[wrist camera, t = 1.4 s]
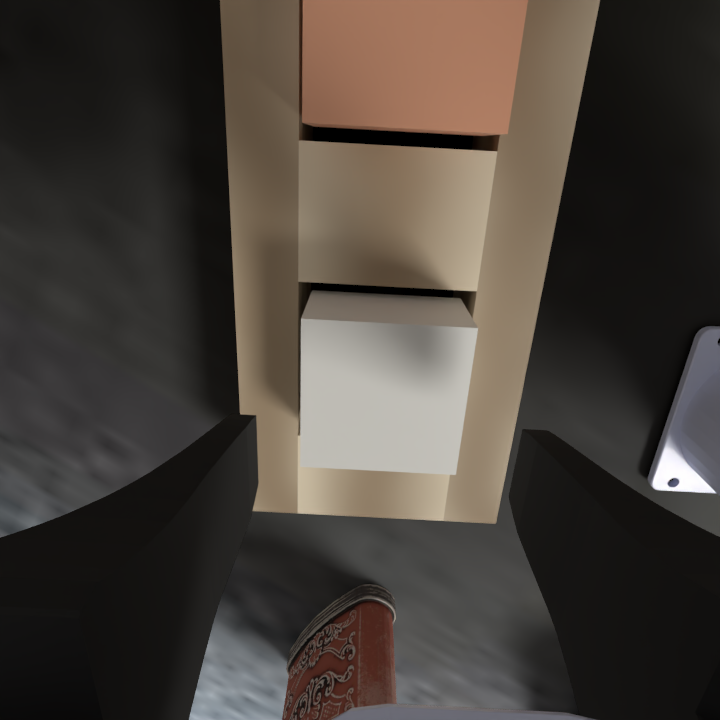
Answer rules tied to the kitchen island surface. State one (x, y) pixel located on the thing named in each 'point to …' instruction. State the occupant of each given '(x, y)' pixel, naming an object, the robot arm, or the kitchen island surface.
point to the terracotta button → (411, 64)
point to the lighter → (344, 657)
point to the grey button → (384, 381)
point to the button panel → (391, 248)
